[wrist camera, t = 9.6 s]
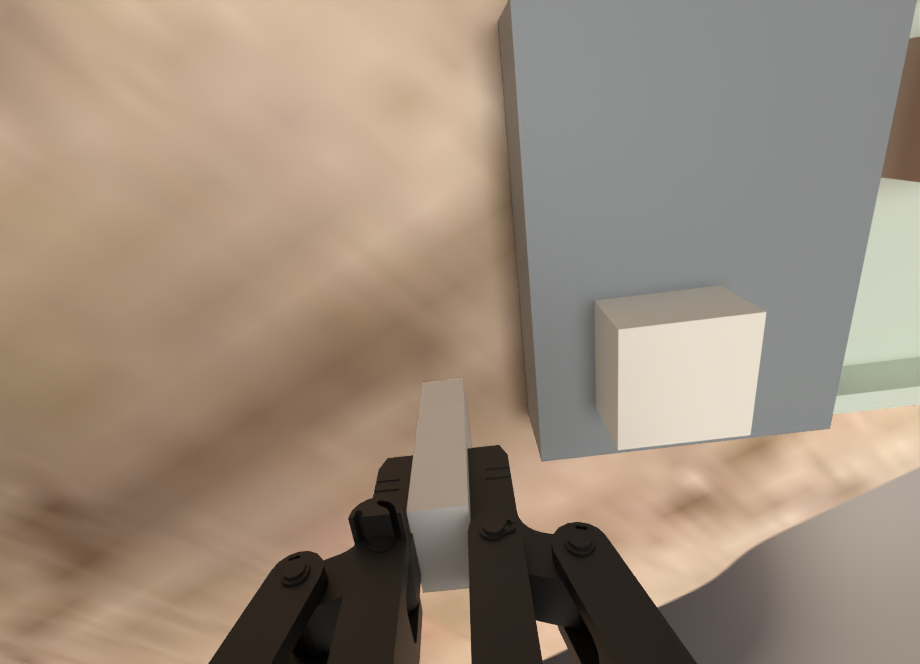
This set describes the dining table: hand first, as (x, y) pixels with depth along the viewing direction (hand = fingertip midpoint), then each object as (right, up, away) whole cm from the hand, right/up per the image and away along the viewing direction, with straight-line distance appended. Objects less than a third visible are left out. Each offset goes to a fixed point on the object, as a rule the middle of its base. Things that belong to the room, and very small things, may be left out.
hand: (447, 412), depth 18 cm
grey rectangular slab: (+9, +8, +4) cm, 13 cm away
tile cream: (+9, +2, +2) cm, 9 cm away
